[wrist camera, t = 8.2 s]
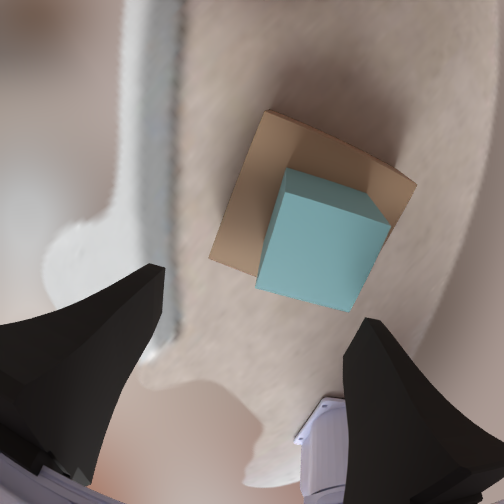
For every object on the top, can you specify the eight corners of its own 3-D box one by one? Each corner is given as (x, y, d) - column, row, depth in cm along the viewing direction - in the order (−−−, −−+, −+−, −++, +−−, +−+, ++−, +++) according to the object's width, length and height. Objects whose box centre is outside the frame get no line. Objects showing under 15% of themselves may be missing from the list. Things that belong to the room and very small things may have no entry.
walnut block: (335, 273, 21) (342, 309, 17) (222, 228, 20) (208, 258, 17) (393, 166, 17) (417, 184, 13) (269, 109, 16) (264, 111, 13)
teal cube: (337, 264, 16) (348, 312, 12) (263, 243, 16) (255, 287, 12) (366, 193, 14) (391, 226, 10) (286, 167, 14) (285, 191, 10)
